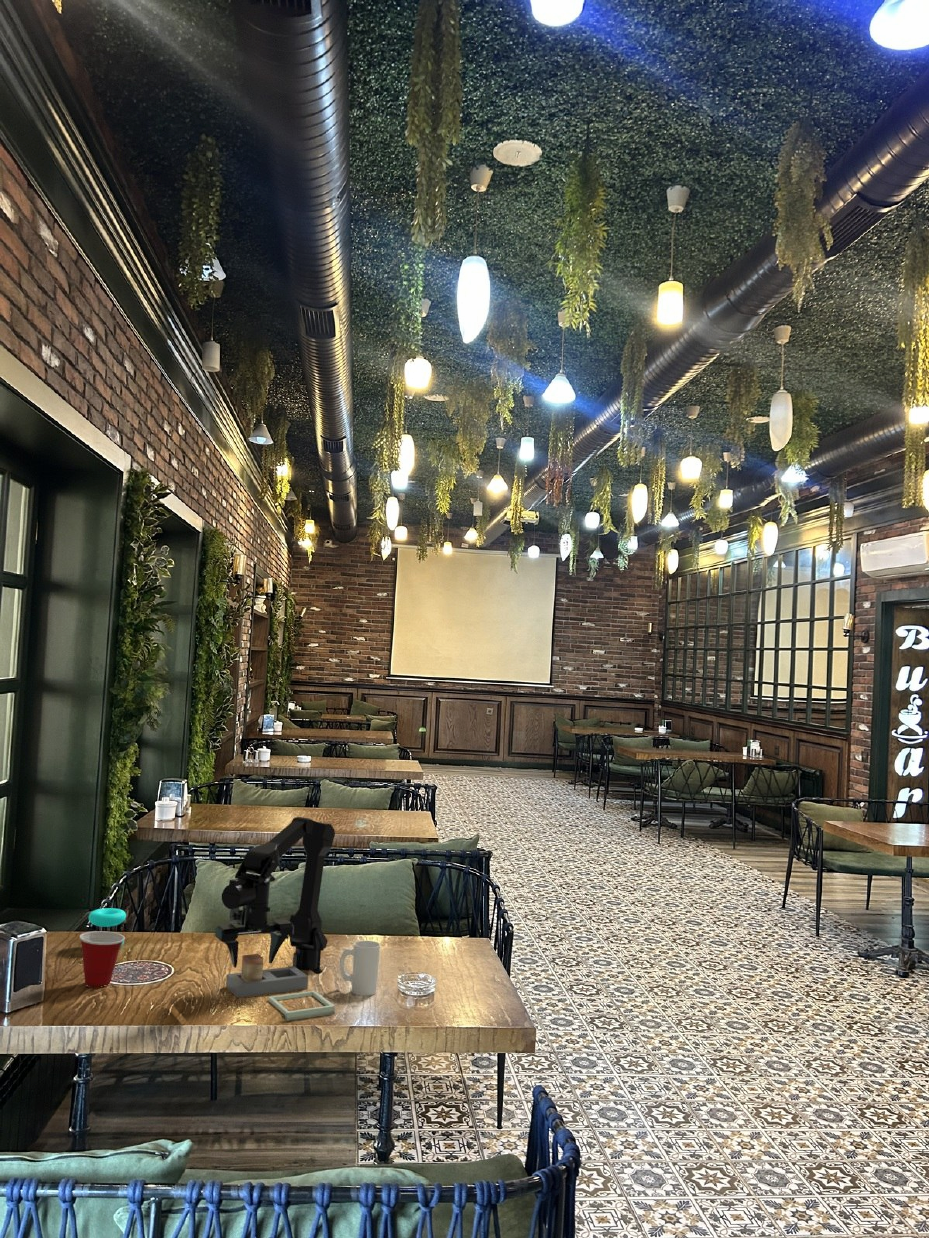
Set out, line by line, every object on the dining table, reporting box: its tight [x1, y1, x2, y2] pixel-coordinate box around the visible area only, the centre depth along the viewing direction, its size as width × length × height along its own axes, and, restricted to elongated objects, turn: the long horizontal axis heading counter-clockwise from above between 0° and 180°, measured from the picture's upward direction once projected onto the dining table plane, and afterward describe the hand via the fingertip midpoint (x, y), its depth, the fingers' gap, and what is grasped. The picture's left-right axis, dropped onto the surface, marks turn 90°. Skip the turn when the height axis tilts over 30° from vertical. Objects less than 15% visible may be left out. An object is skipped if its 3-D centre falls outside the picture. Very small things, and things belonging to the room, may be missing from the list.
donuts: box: [87, 907, 127, 947], centre depth 265 cm, size 10×10×10 cm
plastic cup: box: [79, 930, 126, 988], centre depth 233 cm, size 11×11×12 cm
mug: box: [339, 940, 381, 997], centre depth 239 cm, size 10×7×12 cm, turn 97°
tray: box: [267, 990, 336, 1022], centre depth 224 cm, size 12×12×2 cm
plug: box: [240, 953, 264, 982], centre depth 233 cm, size 4×4×8 cm
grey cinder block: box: [225, 965, 309, 999], centre depth 235 cm, size 18×9×4 cm, turn 122°
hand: (252, 965), depth 233 cm, fingers open, 9 cm apart
